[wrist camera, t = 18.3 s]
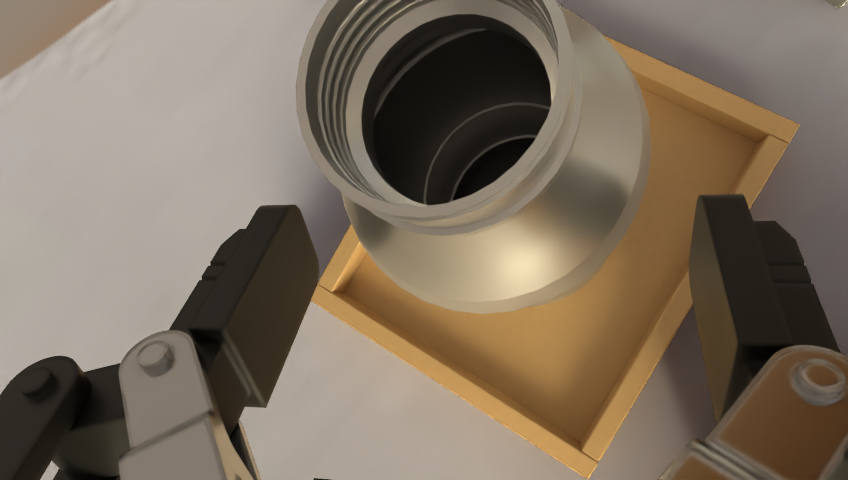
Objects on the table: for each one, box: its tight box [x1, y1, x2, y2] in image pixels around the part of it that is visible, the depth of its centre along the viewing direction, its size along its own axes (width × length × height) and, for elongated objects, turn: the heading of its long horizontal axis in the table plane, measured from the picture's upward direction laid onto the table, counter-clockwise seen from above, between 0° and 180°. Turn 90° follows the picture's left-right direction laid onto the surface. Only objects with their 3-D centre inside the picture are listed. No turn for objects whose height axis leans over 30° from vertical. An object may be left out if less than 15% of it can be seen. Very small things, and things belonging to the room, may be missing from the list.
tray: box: [311, 35, 800, 479], centre depth 27 cm, size 16×14×2 cm
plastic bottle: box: [296, 0, 652, 314], centre depth 18 cm, size 6×7×20 cm
